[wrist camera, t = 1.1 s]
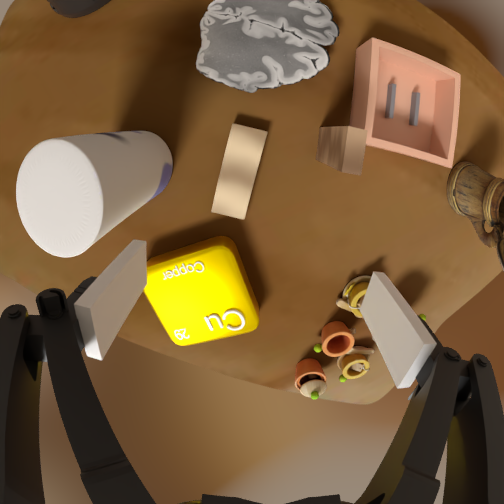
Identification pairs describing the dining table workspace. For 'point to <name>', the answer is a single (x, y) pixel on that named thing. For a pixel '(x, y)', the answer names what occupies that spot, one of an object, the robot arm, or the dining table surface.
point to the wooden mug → (479, 202)
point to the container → (88, 186)
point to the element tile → (202, 292)
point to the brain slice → (265, 42)
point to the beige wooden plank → (238, 171)
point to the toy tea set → (338, 345)
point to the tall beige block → (342, 148)
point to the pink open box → (405, 102)
